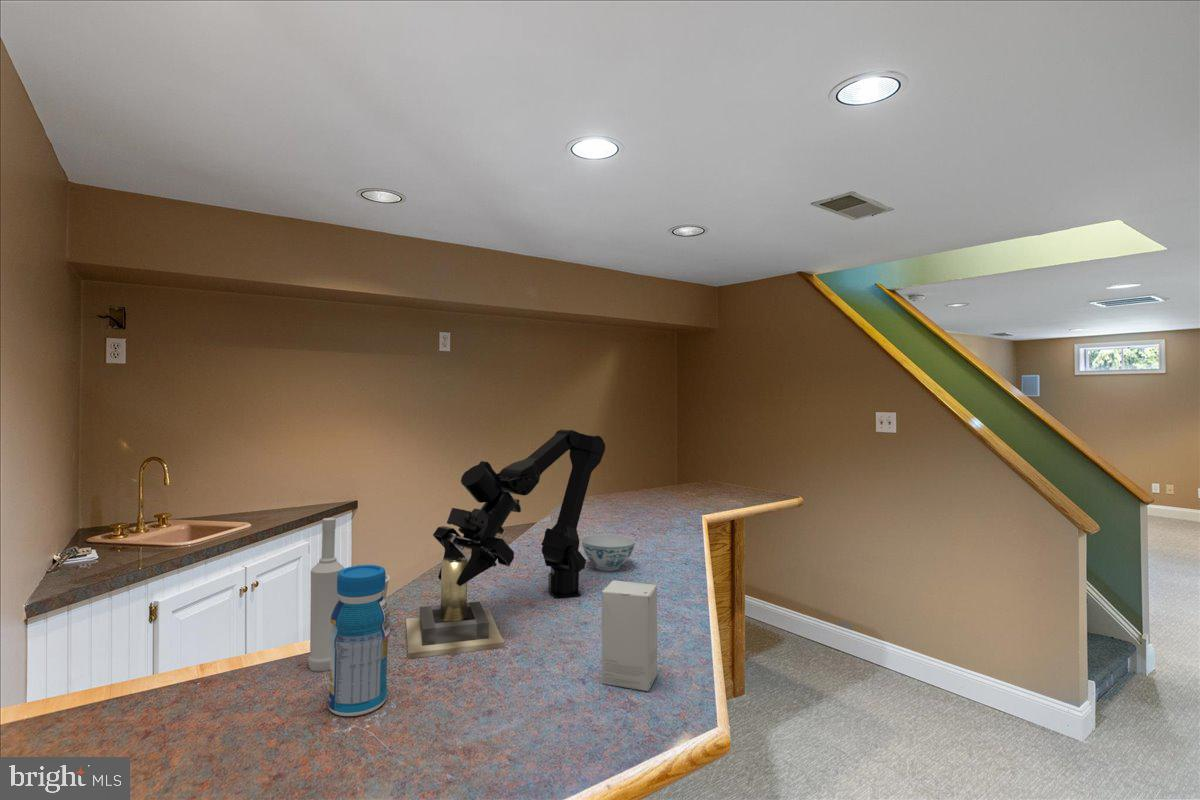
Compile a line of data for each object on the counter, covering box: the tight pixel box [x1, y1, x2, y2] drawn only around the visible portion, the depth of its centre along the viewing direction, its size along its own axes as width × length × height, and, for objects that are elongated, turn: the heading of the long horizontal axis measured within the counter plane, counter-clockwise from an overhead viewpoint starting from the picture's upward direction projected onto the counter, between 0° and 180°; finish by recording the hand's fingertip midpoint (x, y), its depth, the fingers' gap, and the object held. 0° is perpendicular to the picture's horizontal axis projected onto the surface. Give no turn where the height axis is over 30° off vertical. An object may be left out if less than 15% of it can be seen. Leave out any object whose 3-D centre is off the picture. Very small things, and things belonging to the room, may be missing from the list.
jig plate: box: [405, 601, 505, 660], centre depth 113 cm, size 17×17×4 cm
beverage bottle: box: [327, 564, 391, 717], centre depth 87 cm, size 8×8×20 cm
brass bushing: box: [440, 557, 469, 621], centre depth 113 cm, size 5×5×11 cm
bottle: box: [307, 517, 345, 672], centre depth 99 cm, size 5×5×25 cm
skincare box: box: [601, 580, 658, 692], centre depth 96 cm, size 8×7×16 cm
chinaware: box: [581, 533, 636, 572], centre depth 162 cm, size 15×15×8 cm
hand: (448, 582), depth 112 cm, fingers closed on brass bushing, 5 cm apart
